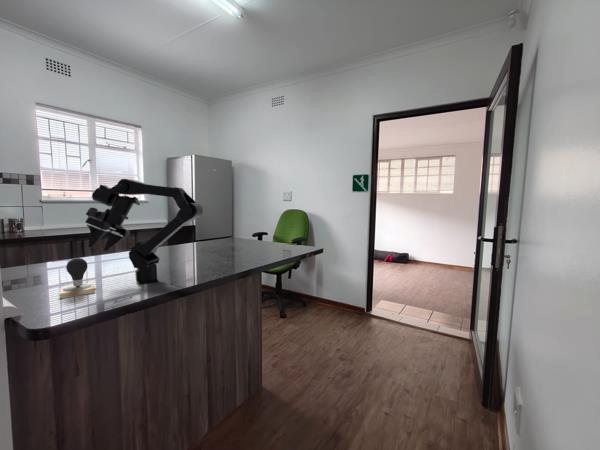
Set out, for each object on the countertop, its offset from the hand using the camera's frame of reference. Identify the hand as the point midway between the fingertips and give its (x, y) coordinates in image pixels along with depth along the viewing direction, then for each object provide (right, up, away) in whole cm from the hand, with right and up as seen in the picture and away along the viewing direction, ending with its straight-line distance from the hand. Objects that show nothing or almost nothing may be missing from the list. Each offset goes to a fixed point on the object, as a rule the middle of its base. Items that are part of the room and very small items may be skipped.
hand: (97, 249), depth 100 cm
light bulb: (-2, -13, -6) cm, 14 cm away
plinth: (-2, -14, -6) cm, 16 cm away
